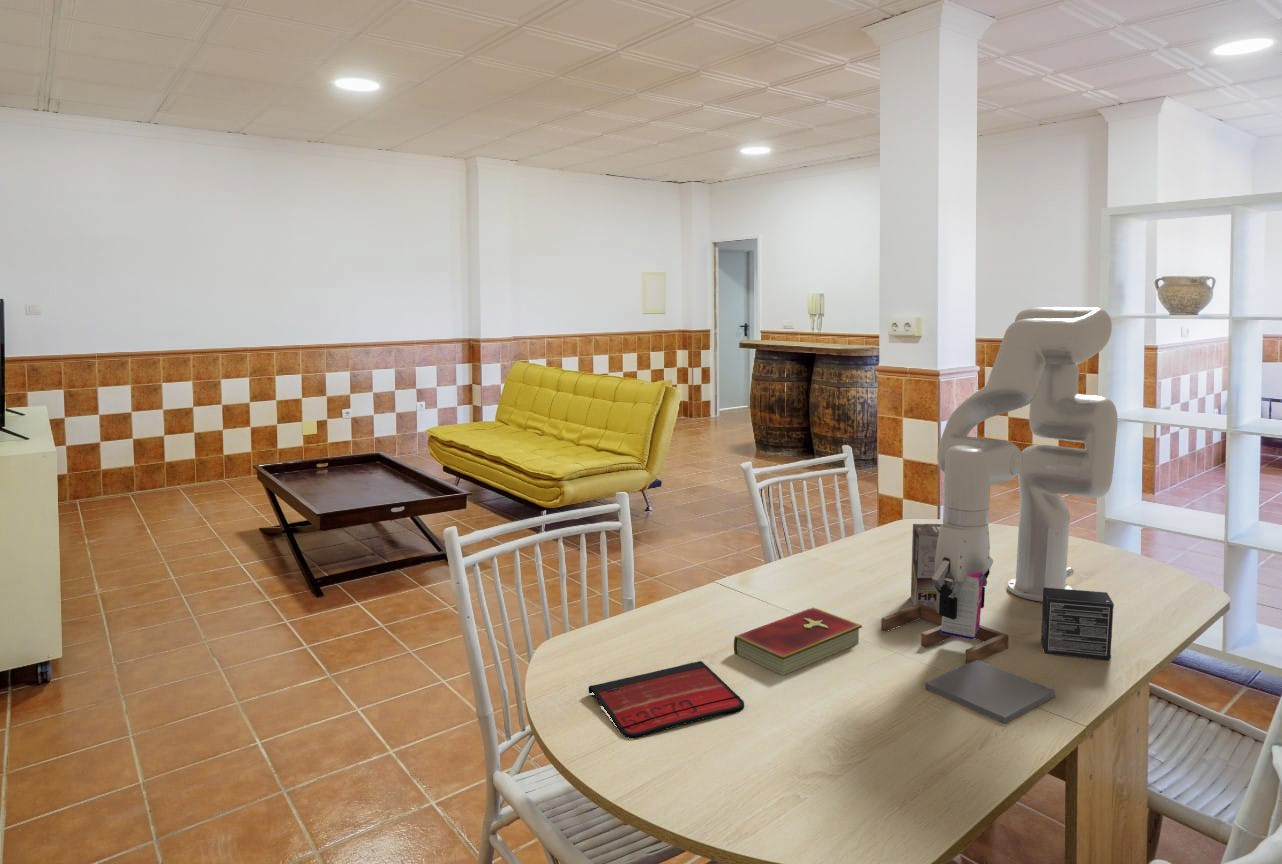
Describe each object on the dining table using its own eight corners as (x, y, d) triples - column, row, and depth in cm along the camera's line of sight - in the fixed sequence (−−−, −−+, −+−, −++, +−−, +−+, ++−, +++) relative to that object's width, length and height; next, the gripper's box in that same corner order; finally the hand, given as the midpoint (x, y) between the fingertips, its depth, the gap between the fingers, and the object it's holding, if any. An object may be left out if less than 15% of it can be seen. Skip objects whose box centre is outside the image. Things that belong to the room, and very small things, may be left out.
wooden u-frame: (919, 615, 164) (919, 603, 164) (1008, 648, 149) (1008, 635, 149) (881, 630, 158) (881, 617, 158) (969, 665, 143) (970, 651, 142)
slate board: (975, 665, 143) (976, 659, 143) (1055, 696, 131) (1055, 690, 131) (925, 688, 135) (925, 682, 135) (1004, 723, 123) (1005, 717, 123)
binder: (588, 684, 135) (701, 658, 144) (588, 697, 136) (700, 671, 144) (627, 734, 121) (750, 702, 129) (627, 748, 121) (749, 716, 130)
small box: (1104, 646, 149) (1108, 590, 147) (1111, 661, 143) (1115, 604, 141) (1039, 639, 152) (1042, 585, 151) (1043, 654, 146) (1047, 597, 145)
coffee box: (948, 614, 165) (952, 536, 162) (915, 612, 166) (917, 535, 164) (941, 597, 174) (944, 523, 171) (909, 595, 175) (912, 522, 172)
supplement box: (975, 640, 145) (977, 578, 143) (940, 634, 148) (942, 572, 146) (981, 628, 149) (984, 568, 147) (947, 622, 153) (949, 563, 151)
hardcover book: (733, 655, 150) (733, 633, 149) (811, 625, 162) (811, 605, 161) (783, 679, 140) (783, 655, 139) (861, 645, 153) (861, 623, 152)
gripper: (975, 503, 153) (971, 594, 156) (916, 520, 143) (913, 616, 146) (1013, 511, 147) (1008, 606, 150) (954, 529, 137) (950, 630, 140)
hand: (961, 610), depth 148 cm, fingers closed on supplement box, 7 cm apart
